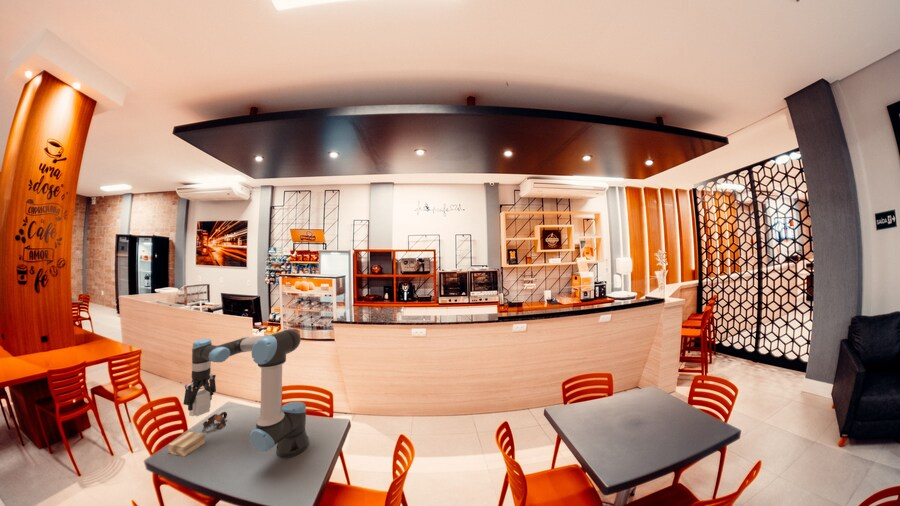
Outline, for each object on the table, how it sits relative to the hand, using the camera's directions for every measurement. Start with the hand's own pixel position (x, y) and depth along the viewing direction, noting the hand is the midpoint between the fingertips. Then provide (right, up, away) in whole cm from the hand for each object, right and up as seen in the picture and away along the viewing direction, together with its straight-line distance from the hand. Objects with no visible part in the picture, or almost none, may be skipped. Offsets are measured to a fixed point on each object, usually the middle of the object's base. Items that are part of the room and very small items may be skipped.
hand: (200, 411), depth 148 cm
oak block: (-4, -18, -3) cm, 19 cm away
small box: (0, -1, 0) cm, 1 cm away
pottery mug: (-4, -18, +15) cm, 24 cm away
